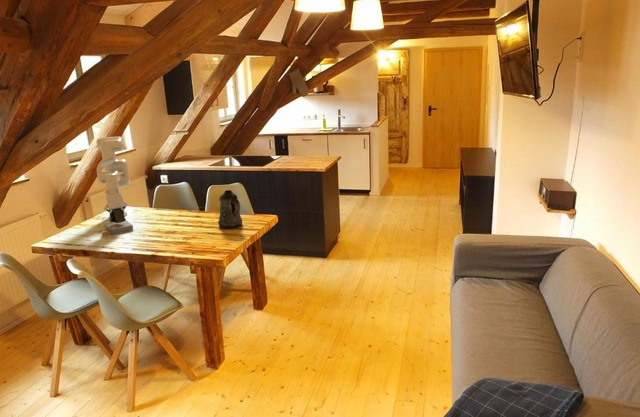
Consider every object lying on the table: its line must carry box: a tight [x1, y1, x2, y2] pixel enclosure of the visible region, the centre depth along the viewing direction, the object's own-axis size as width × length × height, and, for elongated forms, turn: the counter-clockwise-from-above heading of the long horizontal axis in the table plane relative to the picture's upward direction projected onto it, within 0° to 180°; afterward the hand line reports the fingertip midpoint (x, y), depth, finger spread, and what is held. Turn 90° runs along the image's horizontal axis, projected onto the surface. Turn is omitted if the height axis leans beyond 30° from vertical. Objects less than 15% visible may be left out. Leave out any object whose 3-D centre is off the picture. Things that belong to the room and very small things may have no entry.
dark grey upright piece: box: [217, 189, 243, 230], centre depth 320 cm, size 16×19×25 cm
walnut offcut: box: [101, 230, 112, 238], centre depth 310 cm, size 5×4×3 cm
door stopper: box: [109, 208, 127, 223], centre depth 319 cm, size 9×6×12 cm, turn 62°
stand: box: [104, 220, 134, 236], centre depth 321 cm, size 16×14×4 cm
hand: (117, 216), depth 319 cm, fingers closed on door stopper, 6 cm apart
